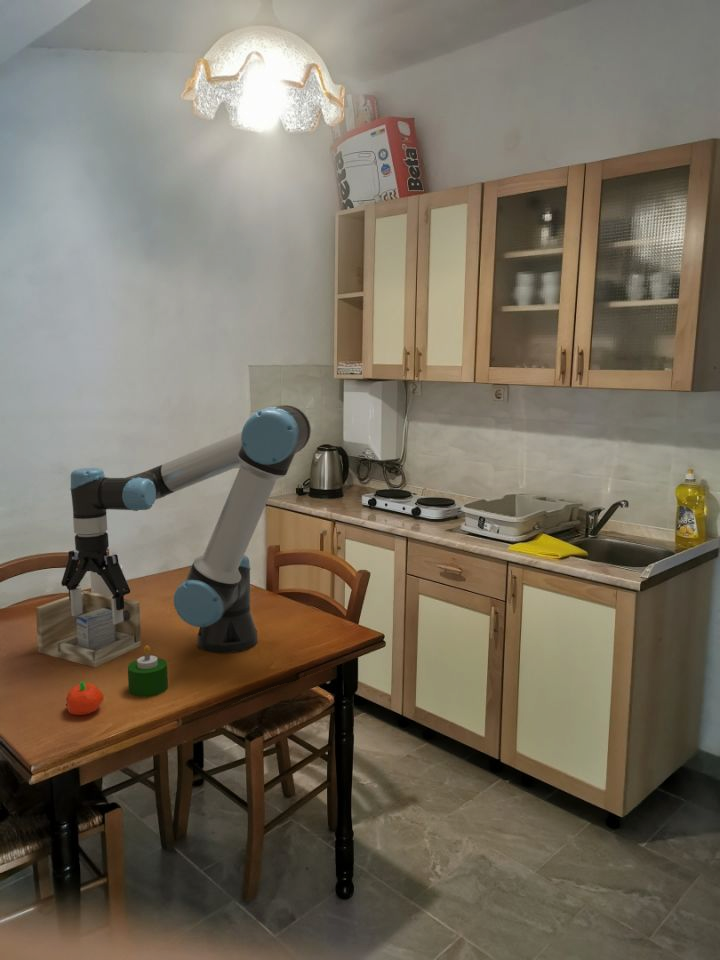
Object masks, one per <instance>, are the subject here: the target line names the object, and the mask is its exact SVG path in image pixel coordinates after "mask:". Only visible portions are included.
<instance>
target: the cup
mask: <svg viewBox="0 0 720 960" xmlns="http://www.w3.org/2000/svg"><path fill="white" fill-rule="evenodd" d="M119 565H120V568H121V570H122V572H123V571H124V570H123V565H122V564H120V563H119ZM103 569H105V568H103ZM89 574H90V575H89V576H90V590H91V591H90V592H93V593H98V594H102V595H107V596H112V597H113V594H112V593H111V591H110V590H109V588H108V586H107V585H106V583H105V582H104V580H103V579H102V577H101V576H100V575H98V574H97V573H95V572H92V571H89ZM117 592H118V591H117Z"/></svg>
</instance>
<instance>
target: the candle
mask: <svg viewBox="0 0 720 960" xmlns="http://www.w3.org/2000/svg"><path fill="white" fill-rule="evenodd" d="M143 654H144V655H143V656H140V657H139V658H138V659H135V660H133V661H131V662H130V663H129V664H128V665H127V681H128V682H127V686H128V692H129V694H130V695H131V696H133V697H139V698H149V697H150V698H151V697H154V696H158V695H160V694H163V693H165V692H166V691H167V689H168V688H169V687H168V685H169V684H168V679H169V678H168V661H167V660H165V659H163V658H160V657H157V656H155V655H151V648H150V645H148V644H147V645H145V646H144V648H143Z"/></svg>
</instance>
